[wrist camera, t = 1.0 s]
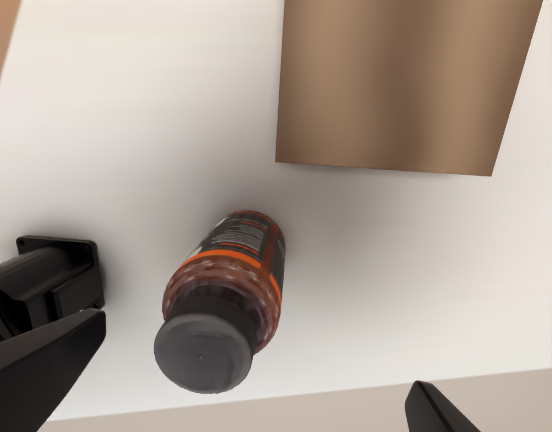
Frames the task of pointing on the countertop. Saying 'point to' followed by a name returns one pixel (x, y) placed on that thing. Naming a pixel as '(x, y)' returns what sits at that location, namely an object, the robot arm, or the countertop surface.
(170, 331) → the supplement bottle
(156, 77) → the countertop surface
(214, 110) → the countertop surface
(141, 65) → the countertop surface
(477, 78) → the walnut block
